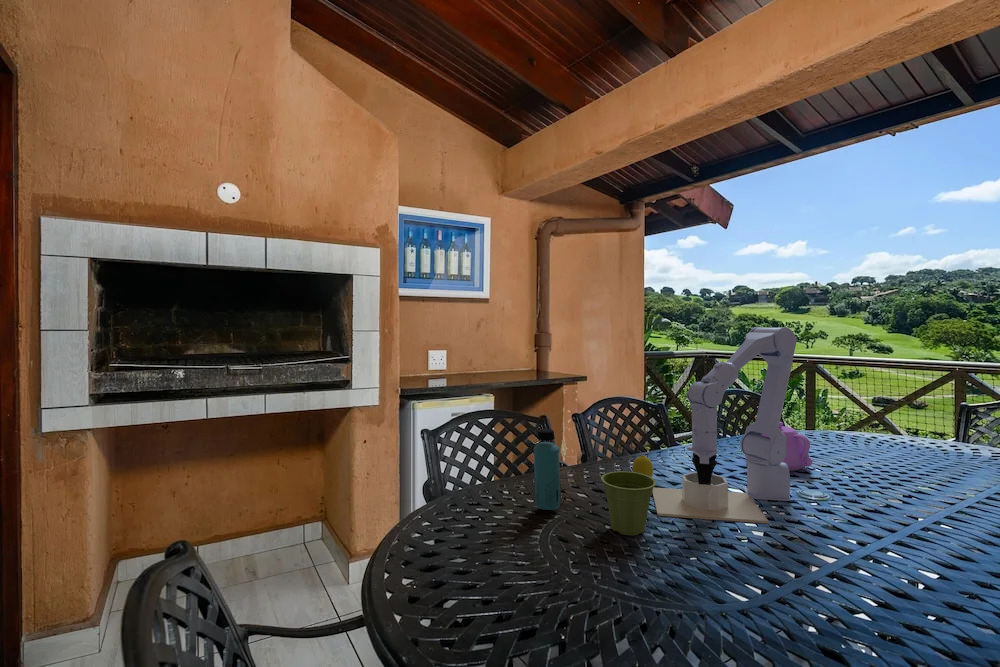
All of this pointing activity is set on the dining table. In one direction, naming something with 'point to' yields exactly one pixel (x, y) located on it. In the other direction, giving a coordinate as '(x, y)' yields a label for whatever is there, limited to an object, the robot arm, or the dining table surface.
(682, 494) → the press stand
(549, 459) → the beverage bottle
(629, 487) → the plant pot
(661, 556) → the dining table surface
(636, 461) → the lemon
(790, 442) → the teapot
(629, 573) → the dining table surface
